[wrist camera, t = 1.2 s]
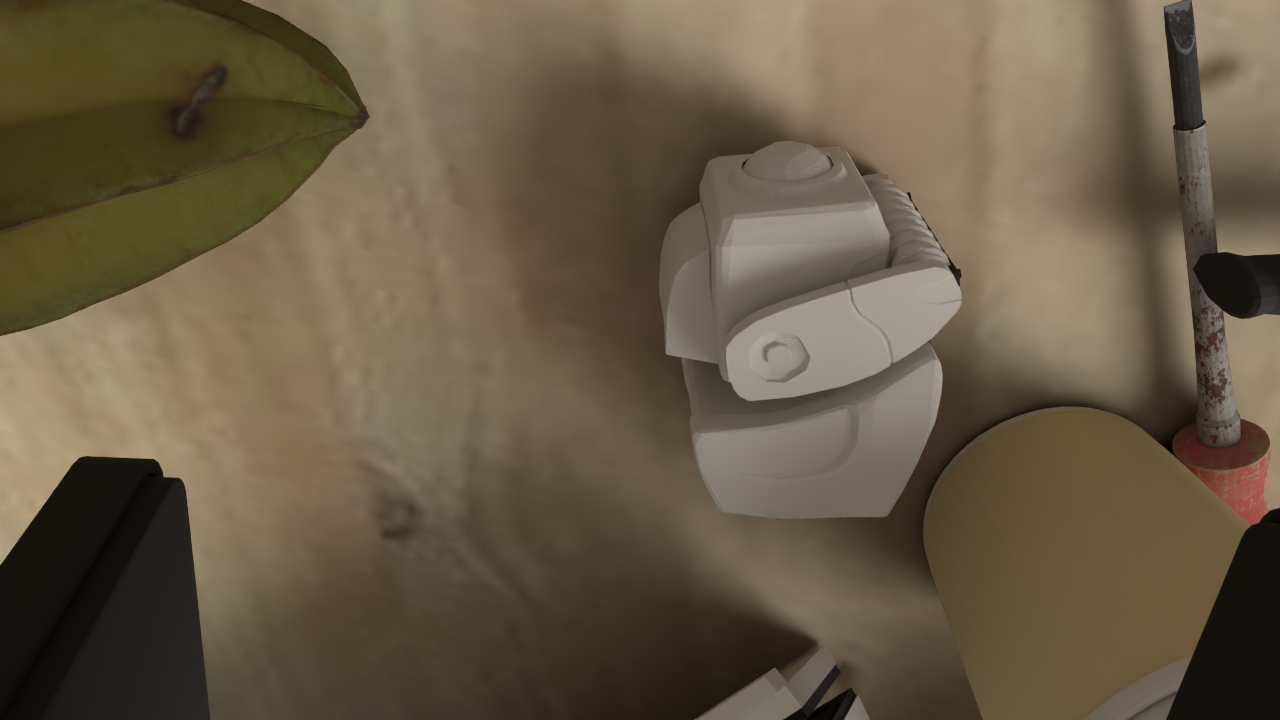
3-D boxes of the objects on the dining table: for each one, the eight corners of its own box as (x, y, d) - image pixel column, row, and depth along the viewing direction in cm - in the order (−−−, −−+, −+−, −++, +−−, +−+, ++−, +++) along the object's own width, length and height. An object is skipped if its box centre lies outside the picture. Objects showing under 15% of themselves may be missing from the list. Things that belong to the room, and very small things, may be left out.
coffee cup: (868, 625, 36) (998, 982, 25) (929, 371, 32) (1116, 672, 21) (1142, 632, 37) (1379, 979, 26) (1237, 386, 32) (1566, 682, 22)
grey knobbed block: (908, 92, 28) (895, 425, 33) (643, 116, 28) (671, 444, 33) (978, 177, 23) (950, 556, 28) (654, 206, 23) (684, 578, 28)
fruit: (-120, -246, 23) (-348, -254, 17) (407, 44, 27) (365, 119, 21) (-237, 206, 27) (-451, 323, 22) (231, 406, 31) (155, 553, 25)
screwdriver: (1268, -1, 24) (1223, -32, 27) (1128, 38, 25) (1096, 5, 28) (1311, 742, 36) (1276, 672, 39) (1214, 754, 37) (1186, 684, 39)
